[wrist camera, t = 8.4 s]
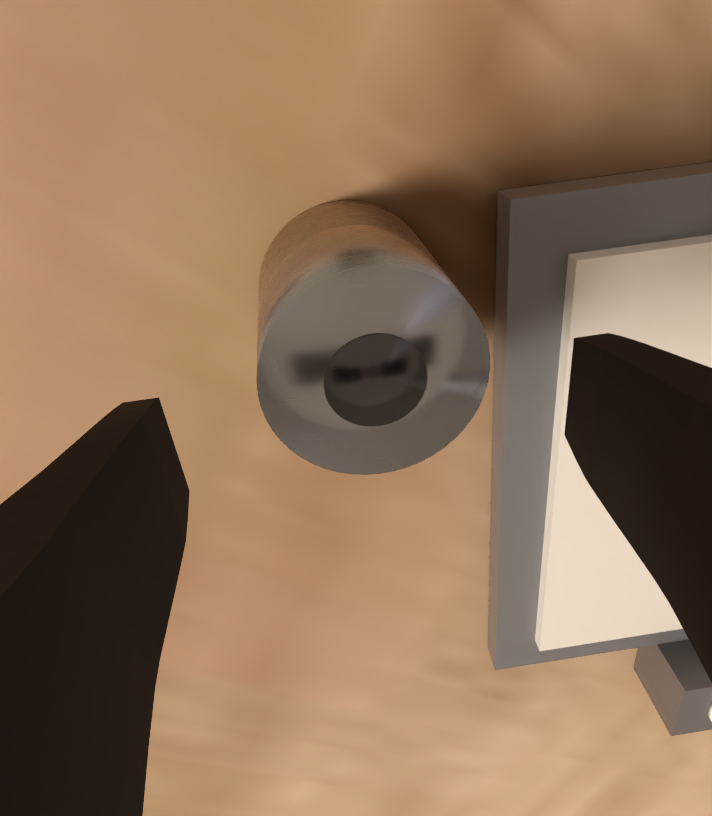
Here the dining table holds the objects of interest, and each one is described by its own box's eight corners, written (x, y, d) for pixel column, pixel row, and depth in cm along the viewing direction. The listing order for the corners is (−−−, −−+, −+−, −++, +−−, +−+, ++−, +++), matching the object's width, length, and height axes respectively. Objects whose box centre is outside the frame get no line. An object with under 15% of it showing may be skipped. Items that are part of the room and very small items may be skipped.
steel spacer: (418, 182, 15) (482, 242, 10) (439, 345, 17) (498, 449, 13) (237, 223, 15) (225, 300, 10) (283, 381, 17) (289, 497, 13)
